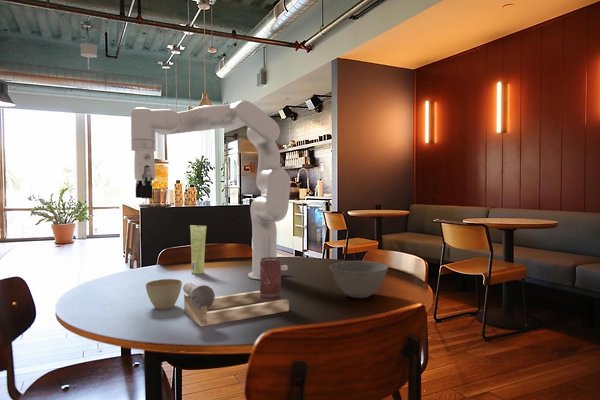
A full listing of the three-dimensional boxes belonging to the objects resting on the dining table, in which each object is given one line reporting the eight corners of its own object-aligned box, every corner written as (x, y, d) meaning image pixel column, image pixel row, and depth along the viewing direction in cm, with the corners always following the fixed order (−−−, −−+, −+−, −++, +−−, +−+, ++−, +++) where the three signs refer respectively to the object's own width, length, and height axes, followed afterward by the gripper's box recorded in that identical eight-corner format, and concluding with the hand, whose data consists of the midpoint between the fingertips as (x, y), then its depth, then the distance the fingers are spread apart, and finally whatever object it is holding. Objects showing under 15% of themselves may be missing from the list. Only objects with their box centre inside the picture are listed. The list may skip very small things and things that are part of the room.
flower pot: (151, 302, 124) (151, 279, 123) (185, 302, 124) (185, 278, 124) (141, 312, 114) (141, 287, 113) (178, 312, 115) (178, 286, 114)
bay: (265, 299, 128) (266, 267, 128) (292, 312, 114) (292, 276, 114) (176, 313, 113) (176, 277, 113) (194, 330, 100) (194, 289, 99)
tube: (203, 271, 171) (203, 224, 171) (206, 273, 166) (206, 225, 166) (190, 272, 169) (189, 225, 168) (192, 274, 164) (192, 226, 164)
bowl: (352, 286, 145) (353, 258, 145) (399, 296, 132) (399, 265, 132) (316, 296, 132) (316, 265, 132) (364, 308, 119) (364, 273, 119)
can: (278, 309, 117) (278, 260, 117) (257, 308, 118) (257, 259, 118) (283, 303, 123) (284, 257, 123) (263, 302, 124) (263, 256, 124)
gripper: (161, 144, 131) (161, 198, 131) (149, 149, 145) (149, 197, 146) (136, 143, 127) (137, 198, 127) (126, 147, 141) (127, 197, 142)
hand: (143, 197), depth 136 cm, fingers open, 9 cm apart
